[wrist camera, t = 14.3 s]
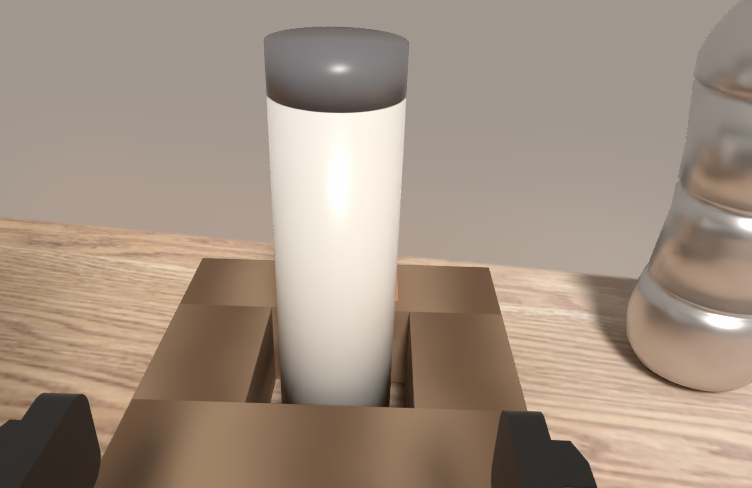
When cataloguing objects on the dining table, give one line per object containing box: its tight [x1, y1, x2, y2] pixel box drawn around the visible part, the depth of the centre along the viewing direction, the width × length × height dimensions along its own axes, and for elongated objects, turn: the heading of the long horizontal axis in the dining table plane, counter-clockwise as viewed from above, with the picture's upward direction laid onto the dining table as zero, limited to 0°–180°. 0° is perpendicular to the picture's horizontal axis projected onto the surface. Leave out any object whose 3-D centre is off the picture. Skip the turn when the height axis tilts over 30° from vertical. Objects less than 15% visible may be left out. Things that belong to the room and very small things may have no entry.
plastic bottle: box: [626, 0, 752, 392], centre depth 27 cm, size 6×7×20 cm
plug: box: [264, 27, 409, 407], centre depth 24 cm, size 4×4×16 cm
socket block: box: [94, 258, 527, 488], centre depth 26 cm, size 14×14×4 cm
